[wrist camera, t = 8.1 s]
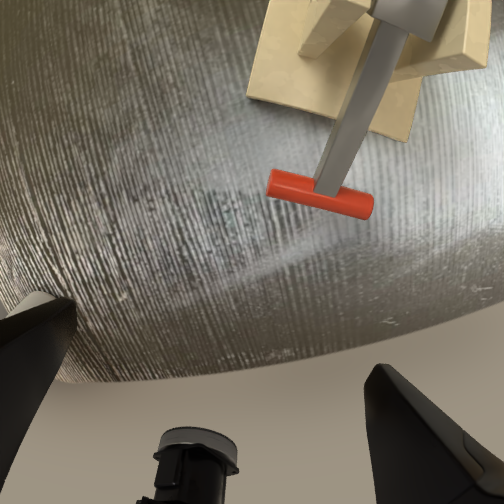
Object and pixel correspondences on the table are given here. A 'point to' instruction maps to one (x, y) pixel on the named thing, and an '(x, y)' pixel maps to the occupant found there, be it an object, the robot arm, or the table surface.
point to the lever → (359, 109)
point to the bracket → (348, 53)
